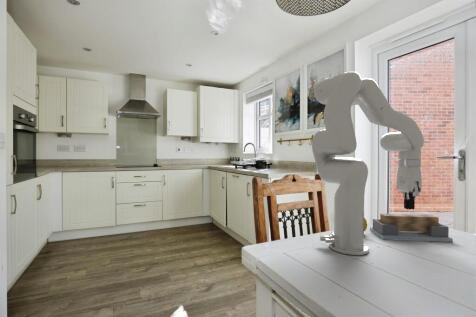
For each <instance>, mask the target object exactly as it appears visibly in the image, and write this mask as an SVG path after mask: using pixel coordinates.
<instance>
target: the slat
mask: <svg viewBox="0 0 476 317" xmlns="http://www.w3.org/2000/svg"><path fill="white" fill-rule="evenodd" d="M379 217H380V218H379V219H380V222H381V223H383V224H397V225H399V231H408V232H429V225H434V226H438V224H439V223H440V222H439V221H440V220H439V218H440V217H439V216H435V215H433V214H413V213H412V214H411V213H409V214H408V213H407V214H406V213H404V214H403V213H380V216H379Z"/></svg>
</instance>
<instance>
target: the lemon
mask: <svg viewBox="0 0 476 317" xmlns="http://www.w3.org/2000/svg"><path fill="white" fill-rule="evenodd" d="M367 229H368V221H367V219H366V218H365V217H364V232H365V231H366V230H367Z"/></svg>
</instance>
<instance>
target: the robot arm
mask: <svg viewBox="0 0 476 317" xmlns="http://www.w3.org/2000/svg"><path fill="white" fill-rule="evenodd" d="M313 96H314V98H315V100H316V101H317V102H318V103H320V104H322V105H324V106H325V107H324V109H323V122H324V127H325V129H320V130H319V131H317V132H316V133H315V134H314V135H313V137H312V138H311V149H312V154H313V159H314V162H315V166H316V169H317V173H318V176H319V177H320V180H322V181H324V182H325V183H329V184H330V183H331V184H336V185H339V186H338V187H337V190H336V192H335V194H334V199H333V202H334V203H333V204H334V205H333V206H334V207H333V208H334V209H333V213H334V214H333V217H334V218H333V219H334V220H333V232H331V234H328V235H323V234H321V235H319V240H320V242H325V244H326V243H327V244H328V245H329V248H330V249H331V250H333V251H334V252H337V253H340V254H344V255H347V256H349V255H350V256H362V255H366V254H368V253H369V252H370V248H369V246H368V245H367V244H365V242H364V241H365V231H364V218H365V192H366V186H367V185H366V184H367V180H368V176H369V167H368V165H367V164H366V163H365V161H363V160H362V159H360V158H355V157H337V156H348V155H351V154H353V153H354V152H355V151H356V149H357V139H356V138H357V137H356V133H355V129H354V125H353V120H352V113H351V110H352V106H356V105H357V106H358V107H359V108H360V110H361V111H362V112H363V114H364V115H365V116H366V118H367V120H368V122H370V123H372V124H374V125H377V126H381V127H386V128H390V129H393V130H395V131H396V132H388V133H385V134H384V135H382V136H381V138H380V140H379V144H380V147H381V148H382V149H383V150H385V151H387V152H398V166H397V167H398V168H397V173H396V174H397V175H396V189H397V191H400V192H401V194H402V197H403V209H406V210H415V205H416V204H415V200H416V198H417V197H419V196H420V194H419V193H421V192H422V187H423V186H422V184H423V183H422V171H421V168H422V160H421V159H422V148H423V146H424V143H425V138H424V134H423V132H422V130H421V128H420V127H419V125H418V124H417V122H416V121H415V120H414V119H413V118H411V117H410V116H408V115H407V114H405V113H403V112H401V111H399V110H396V109H394V108H393V107H392V106H391V104H390V103H389V101H388V99H387V98H386V96H385V94H384V93H383V91H382V90H381V88H380V86H379V85H378V83H377V81H375V80H374V79H373V78H362V77H361V75H360V73H358V72H357V71H346V72H343V73H340V74H339V73H338V74H337V75H334V76H332V77H330V78H325V79H324V80H321V81H319V82H318V83H317V84H315V87H314V90H313Z"/></svg>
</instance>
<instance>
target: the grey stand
mask: <svg viewBox="0 0 476 317" xmlns="http://www.w3.org/2000/svg"><path fill="white" fill-rule="evenodd" d="M369 230H370V231H371V232H372V233H373V232H374V234H375V235H376V236H378V237H379V238H381V239H382V240H395V241H397V240H398V241H420V242H422V241H423V242H442V243H443V242H447V243H448V242H449V243H452V242H454V239H453V238H452V237H449V226H448V225H444V224H442V223H440V222H439V224H438V226H434V225H429V232H408V231H399V225H397V224H383V223H381V222H380V218H372V226H370V227H369Z"/></svg>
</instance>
